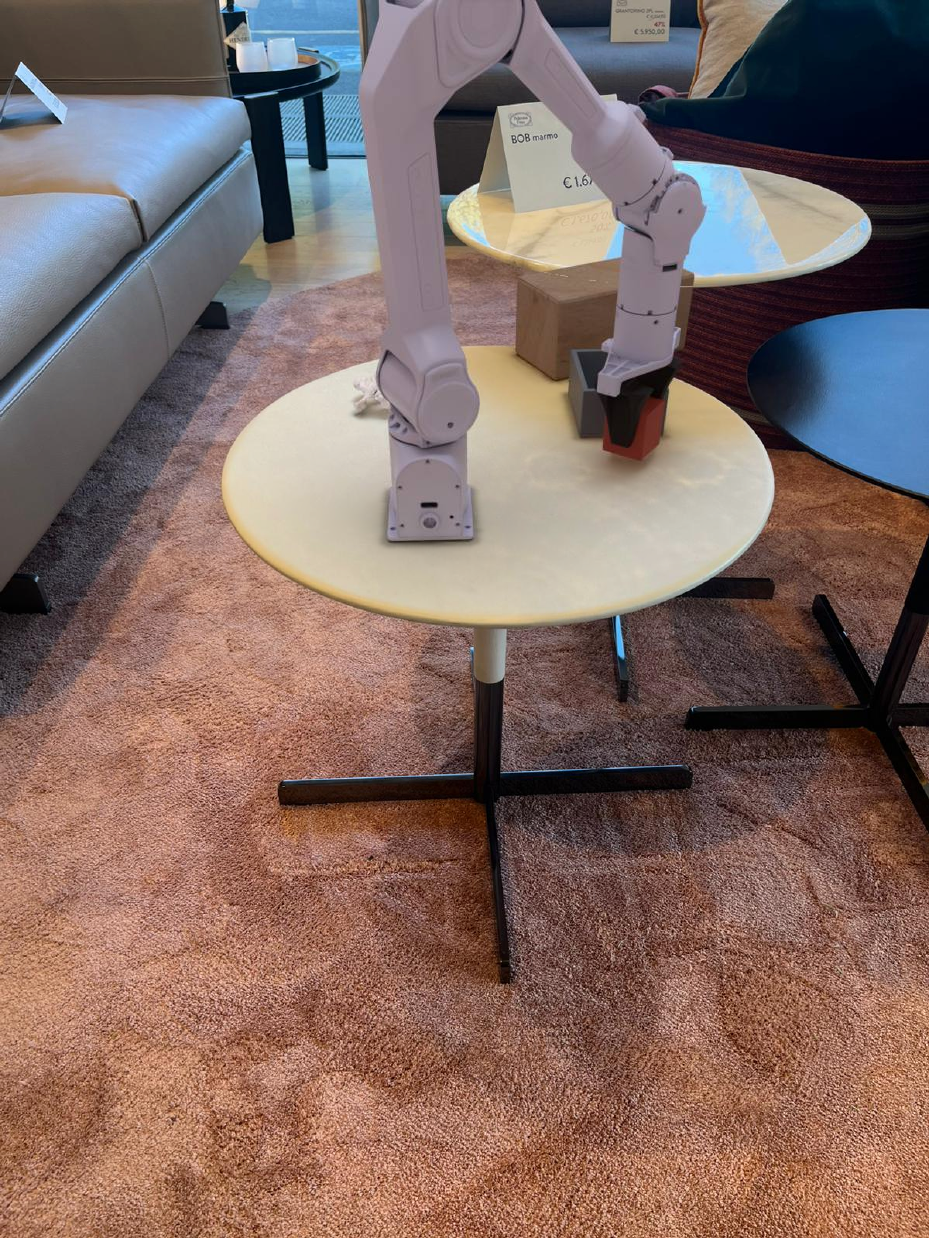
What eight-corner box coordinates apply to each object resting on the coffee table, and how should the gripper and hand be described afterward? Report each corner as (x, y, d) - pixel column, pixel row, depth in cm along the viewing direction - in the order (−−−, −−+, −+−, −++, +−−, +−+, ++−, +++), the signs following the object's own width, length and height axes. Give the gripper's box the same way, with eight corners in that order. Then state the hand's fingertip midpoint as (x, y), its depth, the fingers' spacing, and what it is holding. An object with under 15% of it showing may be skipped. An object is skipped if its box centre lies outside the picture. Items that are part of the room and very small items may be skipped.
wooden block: (515, 275, 113) (647, 250, 121) (513, 353, 120) (639, 325, 127) (559, 300, 107) (696, 272, 114) (554, 382, 113) (685, 350, 120)
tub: (663, 436, 102) (669, 389, 98) (579, 437, 101) (583, 391, 98) (644, 392, 110) (650, 348, 107) (567, 393, 110) (570, 349, 107)
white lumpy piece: (421, 363, 108) (420, 382, 103) (422, 398, 111) (420, 419, 105) (353, 363, 108) (348, 382, 103) (355, 398, 110) (350, 419, 105)
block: (659, 444, 97) (665, 400, 94) (641, 461, 94) (647, 417, 91) (620, 433, 99) (625, 389, 96) (601, 450, 96) (605, 406, 93)
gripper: (641, 275, 94) (627, 399, 102) (572, 320, 85) (563, 452, 93) (707, 288, 91) (687, 415, 99) (643, 336, 81) (627, 471, 90)
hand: (631, 434), depth 96 cm, fingers closed on block, 4 cm apart
